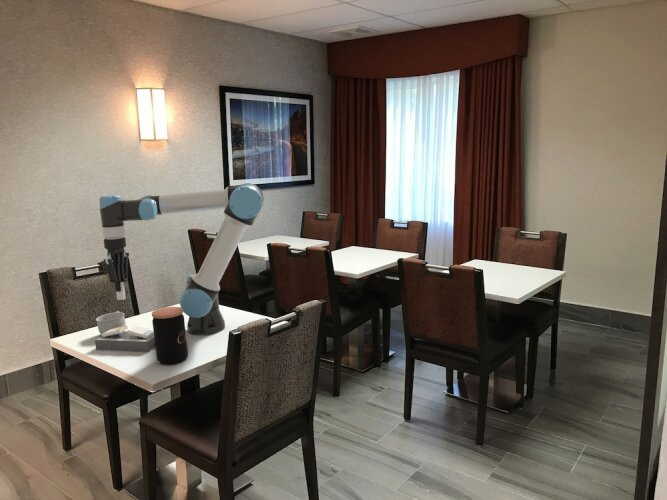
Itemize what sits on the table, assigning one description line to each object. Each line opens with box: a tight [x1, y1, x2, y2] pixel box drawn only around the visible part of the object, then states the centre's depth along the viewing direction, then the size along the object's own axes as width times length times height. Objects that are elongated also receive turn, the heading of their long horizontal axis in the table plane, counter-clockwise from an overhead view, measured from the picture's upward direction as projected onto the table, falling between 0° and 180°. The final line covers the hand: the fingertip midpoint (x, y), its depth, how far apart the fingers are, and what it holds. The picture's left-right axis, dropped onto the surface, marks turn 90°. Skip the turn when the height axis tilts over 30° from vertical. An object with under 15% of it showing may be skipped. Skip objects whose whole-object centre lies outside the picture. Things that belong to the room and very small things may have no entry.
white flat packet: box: [127, 325, 154, 338], centre depth 206 cm, size 8×5×1 cm, turn 79°
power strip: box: [94, 330, 156, 353], centre depth 208 cm, size 26×10×5 cm, turn 78°
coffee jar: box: [151, 306, 189, 366], centre depth 191 cm, size 11×11×18 cm
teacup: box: [95, 310, 127, 335], centre depth 223 cm, size 14×11×8 cm
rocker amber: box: [101, 325, 129, 337], centre depth 209 cm, size 8×5×1 cm, turn 77°
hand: (121, 299), depth 205 cm, fingers closed
